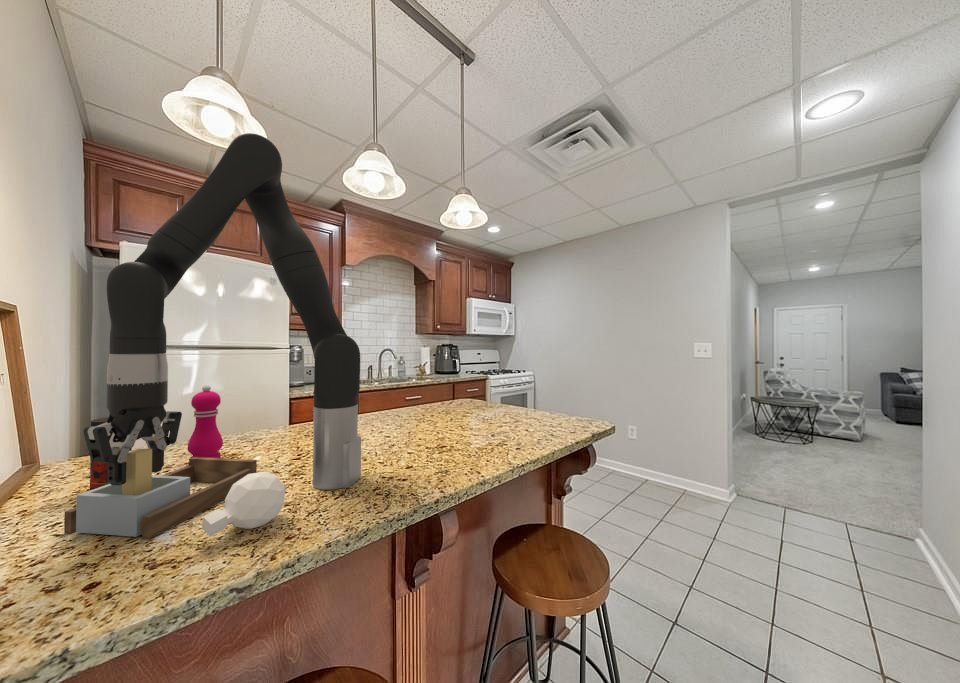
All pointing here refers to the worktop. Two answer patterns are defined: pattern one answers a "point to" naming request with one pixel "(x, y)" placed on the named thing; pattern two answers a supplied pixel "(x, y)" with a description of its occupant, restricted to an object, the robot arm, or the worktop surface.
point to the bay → (181, 510)
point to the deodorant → (99, 463)
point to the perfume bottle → (248, 503)
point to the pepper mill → (205, 425)
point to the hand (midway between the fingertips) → (137, 477)
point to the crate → (128, 498)
